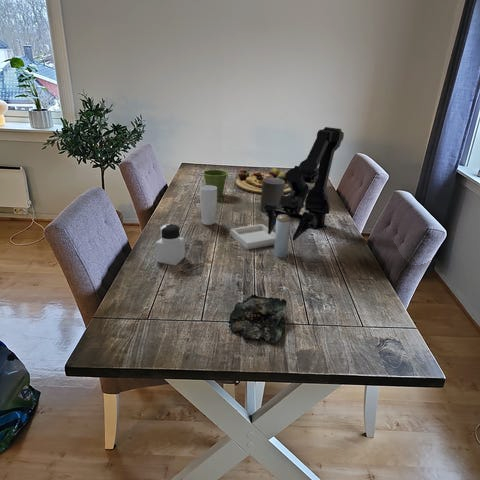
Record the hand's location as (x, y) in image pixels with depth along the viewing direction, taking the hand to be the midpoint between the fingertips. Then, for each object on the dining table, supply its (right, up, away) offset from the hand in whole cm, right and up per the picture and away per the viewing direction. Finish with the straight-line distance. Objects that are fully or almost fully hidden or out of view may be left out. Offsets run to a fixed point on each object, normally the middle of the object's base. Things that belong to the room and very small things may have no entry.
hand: (280, 236), depth 144 cm
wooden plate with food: (0, +27, +79) cm, 83 cm away
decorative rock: (-9, -23, -33) cm, 41 cm away
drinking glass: (-27, +6, +28) cm, 39 cm away
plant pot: (-26, +20, +61) cm, 69 cm away
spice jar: (0, -6, +4) cm, 7 cm away
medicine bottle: (-37, -8, -3) cm, 38 cm away
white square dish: (-8, -1, +15) cm, 17 cm away
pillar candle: (0, +12, +45) cm, 46 cm away
